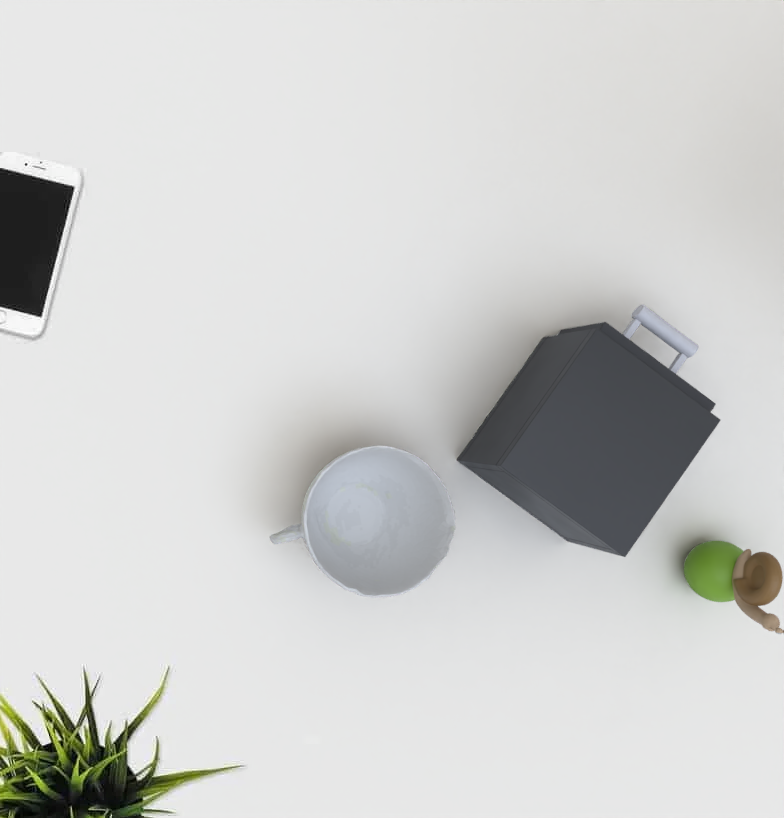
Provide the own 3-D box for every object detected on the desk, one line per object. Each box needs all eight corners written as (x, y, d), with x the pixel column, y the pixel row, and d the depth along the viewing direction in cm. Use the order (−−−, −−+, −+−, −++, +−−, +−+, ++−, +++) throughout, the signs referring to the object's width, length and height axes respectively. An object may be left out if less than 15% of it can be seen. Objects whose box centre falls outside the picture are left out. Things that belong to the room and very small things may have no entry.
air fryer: (543, 337, 91) (597, 327, 81) (654, 419, 91) (721, 419, 82) (456, 460, 91) (500, 465, 81) (568, 542, 91) (625, 557, 81)
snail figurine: (665, 602, 91) (752, 631, 79) (675, 533, 91) (763, 551, 80) (722, 610, 92) (817, 640, 80) (732, 541, 92) (828, 560, 80)
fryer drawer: (587, 291, 90) (634, 280, 82) (688, 367, 91) (745, 362, 83) (480, 442, 90) (517, 445, 82) (583, 517, 90) (630, 527, 82)
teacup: (410, 431, 90) (441, 433, 82) (435, 567, 90) (468, 582, 82) (248, 462, 90) (262, 466, 82) (273, 598, 90) (290, 617, 82)
